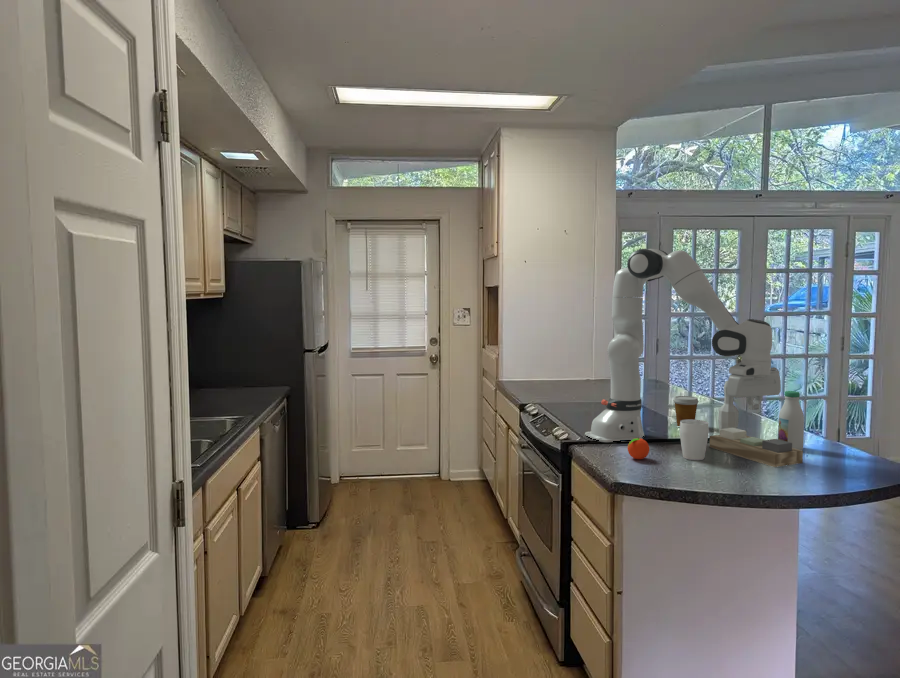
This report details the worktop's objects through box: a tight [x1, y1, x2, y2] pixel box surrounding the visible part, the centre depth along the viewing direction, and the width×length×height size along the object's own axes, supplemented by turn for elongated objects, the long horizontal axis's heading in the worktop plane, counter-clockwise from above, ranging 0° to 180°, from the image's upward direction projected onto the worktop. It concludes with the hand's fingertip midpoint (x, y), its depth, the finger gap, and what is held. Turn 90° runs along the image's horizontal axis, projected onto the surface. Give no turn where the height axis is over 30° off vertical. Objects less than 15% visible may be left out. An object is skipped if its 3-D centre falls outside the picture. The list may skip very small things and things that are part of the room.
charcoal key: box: [762, 438, 792, 453], centre depth 198 cm, size 6×6×4 cm
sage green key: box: [740, 436, 764, 446], centre depth 207 cm, size 6×6×4 cm
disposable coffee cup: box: [672, 395, 699, 427], centre depth 249 cm, size 10×10×12 cm
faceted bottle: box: [717, 380, 740, 431], centre depth 225 cm, size 6×6×22 cm
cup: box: [679, 419, 710, 461], centre depth 204 cm, size 9×9×12 cm
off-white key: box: [719, 428, 748, 440], centre depth 215 cm, size 6×6×4 cm
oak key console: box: [709, 434, 804, 468], centre depth 207 cm, size 12×27×4 cm, turn 21°
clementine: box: [627, 438, 650, 460], centre depth 203 cm, size 8×7×7 cm
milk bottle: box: [777, 390, 805, 451], centre depth 214 cm, size 8×8×20 cm
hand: (753, 409), depth 206 cm, fingers closed
